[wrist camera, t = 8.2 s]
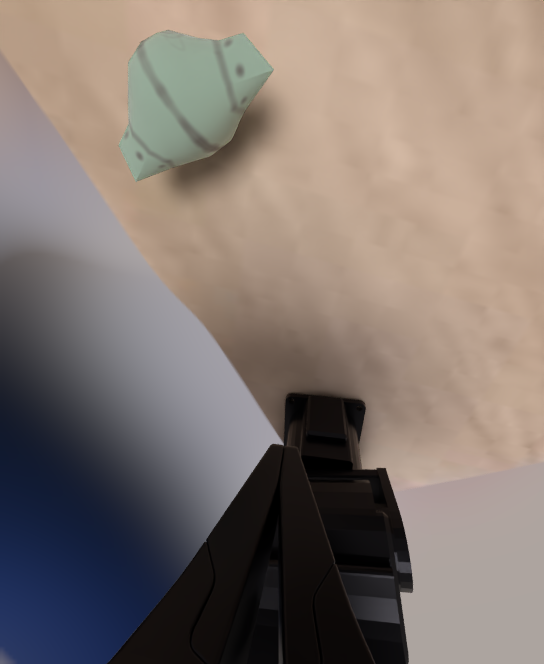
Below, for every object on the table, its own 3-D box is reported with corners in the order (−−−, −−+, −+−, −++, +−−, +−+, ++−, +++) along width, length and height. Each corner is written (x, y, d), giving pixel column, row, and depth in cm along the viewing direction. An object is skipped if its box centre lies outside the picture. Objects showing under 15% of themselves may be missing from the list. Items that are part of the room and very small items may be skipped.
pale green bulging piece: (184, 194, 19) (118, 195, 13) (144, 130, 17) (51, 96, 11) (292, 116, 16) (274, 68, 10) (254, 32, 15) (208, -81, 9)
